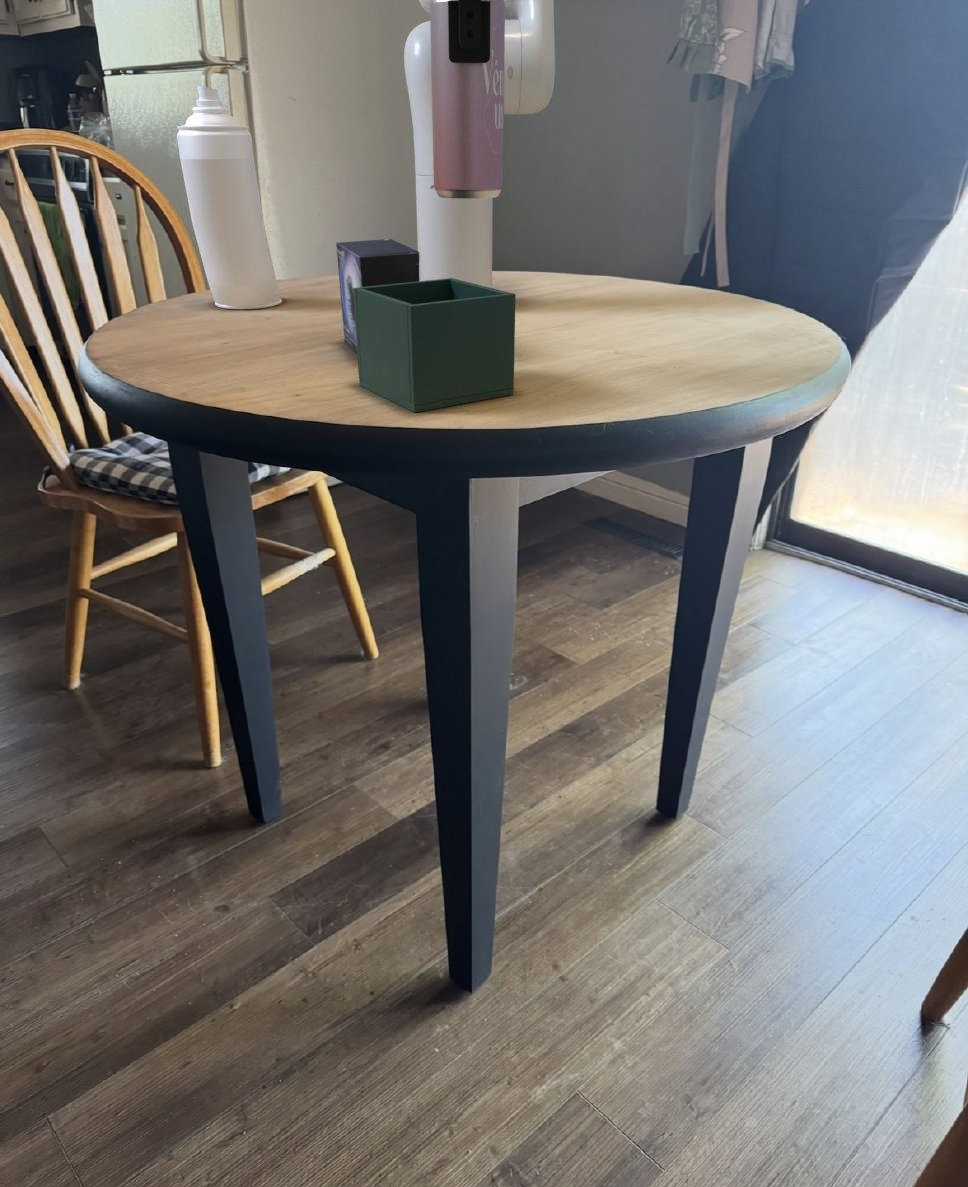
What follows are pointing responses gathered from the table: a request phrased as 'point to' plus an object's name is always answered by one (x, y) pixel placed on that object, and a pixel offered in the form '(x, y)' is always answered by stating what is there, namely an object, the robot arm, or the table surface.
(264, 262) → the spray can
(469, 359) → the bin
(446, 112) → the beverage can
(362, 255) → the small box
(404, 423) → the table surface
